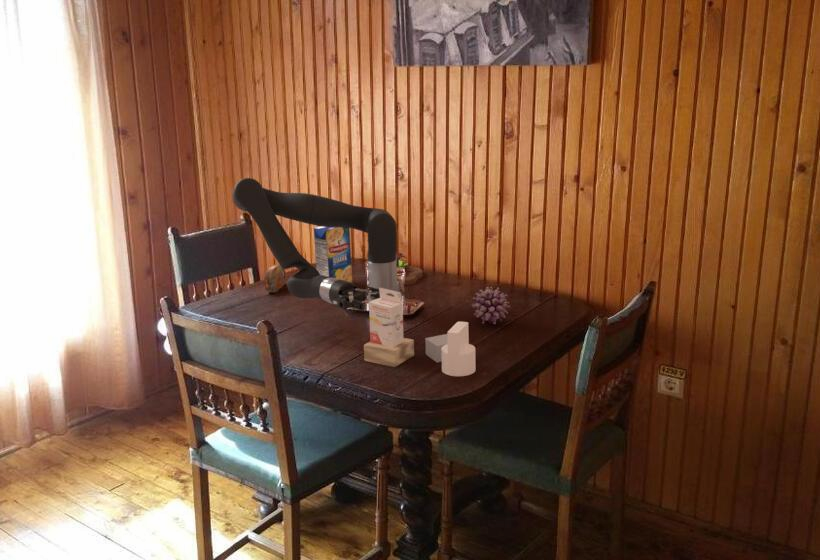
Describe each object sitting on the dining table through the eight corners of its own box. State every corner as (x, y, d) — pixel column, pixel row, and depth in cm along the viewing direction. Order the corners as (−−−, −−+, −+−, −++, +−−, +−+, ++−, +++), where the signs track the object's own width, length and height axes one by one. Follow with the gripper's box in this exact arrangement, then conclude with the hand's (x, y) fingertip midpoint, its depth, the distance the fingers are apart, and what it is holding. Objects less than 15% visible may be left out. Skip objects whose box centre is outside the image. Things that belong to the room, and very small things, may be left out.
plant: (381, 269, 316) (379, 241, 313) (428, 273, 309) (427, 244, 306) (359, 284, 298) (357, 254, 295) (409, 288, 291) (408, 258, 288)
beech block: (384, 350, 234) (383, 333, 232) (414, 356, 228) (413, 339, 227) (364, 361, 226) (363, 345, 224) (394, 368, 220) (394, 351, 219)
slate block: (447, 350, 232) (447, 333, 230) (459, 358, 225) (459, 341, 224) (425, 354, 229) (425, 338, 227) (437, 363, 223) (436, 346, 221)
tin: (272, 295, 287) (270, 272, 284) (263, 295, 287) (261, 272, 285) (286, 283, 301) (285, 261, 298) (278, 283, 301) (277, 261, 299)
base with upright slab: (469, 378, 212) (469, 334, 208) (437, 373, 215) (436, 331, 212) (479, 365, 220) (479, 323, 216) (448, 361, 223) (447, 320, 220)
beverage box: (317, 287, 294) (313, 228, 288) (339, 280, 302) (336, 222, 296) (329, 291, 290) (326, 230, 284) (352, 284, 297) (349, 225, 291)
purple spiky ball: (473, 330, 246) (472, 293, 242) (470, 318, 257) (470, 281, 254) (511, 329, 246) (511, 292, 242) (507, 317, 257) (507, 280, 254)
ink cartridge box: (369, 341, 226) (367, 291, 222) (380, 336, 230) (379, 286, 226) (393, 348, 221) (391, 296, 217) (404, 342, 225) (403, 292, 221)
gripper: (317, 285, 233) (354, 296, 222) (355, 274, 242) (393, 284, 231) (319, 310, 235) (356, 322, 224) (357, 298, 245) (394, 309, 233)
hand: (374, 303), depth 227 cm, fingers open, 8 cm apart
